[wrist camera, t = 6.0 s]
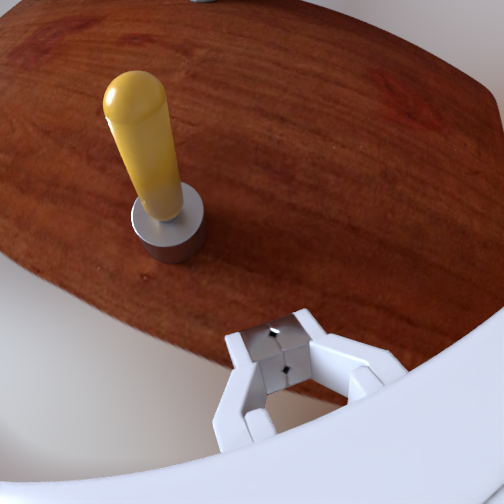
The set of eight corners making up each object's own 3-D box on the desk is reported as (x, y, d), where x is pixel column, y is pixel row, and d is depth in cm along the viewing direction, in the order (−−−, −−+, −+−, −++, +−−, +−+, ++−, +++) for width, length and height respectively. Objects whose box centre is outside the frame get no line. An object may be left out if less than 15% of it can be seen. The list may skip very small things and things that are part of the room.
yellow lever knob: (218, 224, 23) (220, 62, 10) (181, 276, 22) (129, 147, 8) (167, 194, 24) (129, 33, 10) (130, 242, 22) (45, 102, 9)
